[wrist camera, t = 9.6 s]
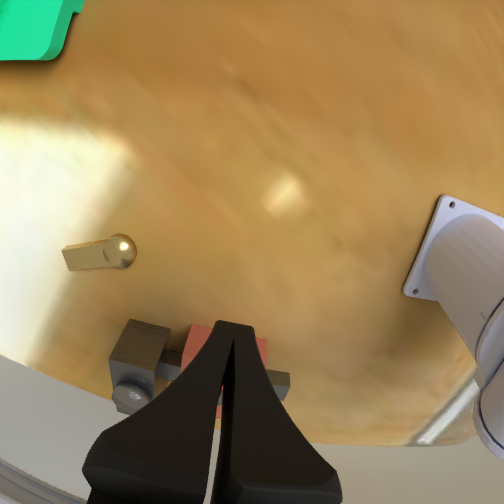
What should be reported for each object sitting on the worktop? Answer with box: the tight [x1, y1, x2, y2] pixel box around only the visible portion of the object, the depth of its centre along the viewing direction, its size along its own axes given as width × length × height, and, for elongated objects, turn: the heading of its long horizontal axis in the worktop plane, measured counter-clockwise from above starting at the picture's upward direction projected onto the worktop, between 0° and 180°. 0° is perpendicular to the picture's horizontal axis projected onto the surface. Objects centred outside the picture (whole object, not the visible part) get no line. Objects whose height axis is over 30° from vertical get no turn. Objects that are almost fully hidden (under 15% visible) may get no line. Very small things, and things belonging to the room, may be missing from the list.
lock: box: [180, 324, 267, 418], centre depth 25 cm, size 6×7×4 cm
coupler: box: [109, 319, 290, 415], centre depth 24 cm, size 14×7×6 cm, turn 79°
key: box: [62, 234, 137, 271], centre depth 22 cm, size 6×2×1 cm, turn 99°
